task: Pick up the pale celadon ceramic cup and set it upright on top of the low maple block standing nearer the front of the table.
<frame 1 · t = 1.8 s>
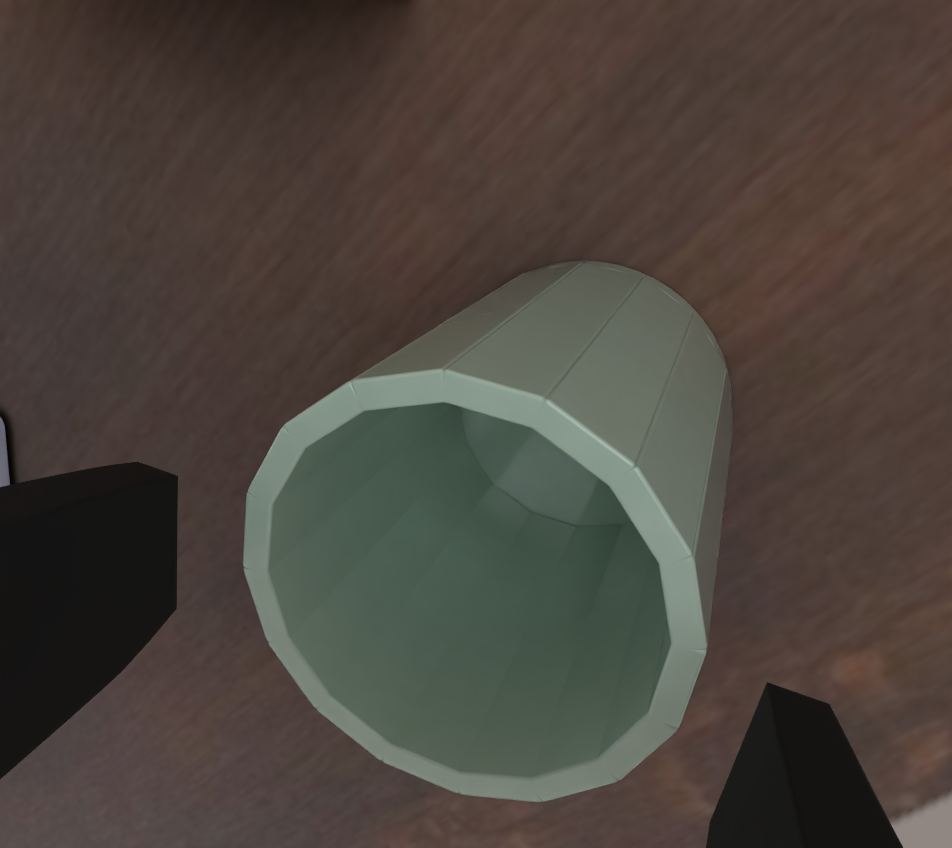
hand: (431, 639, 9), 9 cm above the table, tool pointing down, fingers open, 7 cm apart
cup: (584, 402, 17), on the table
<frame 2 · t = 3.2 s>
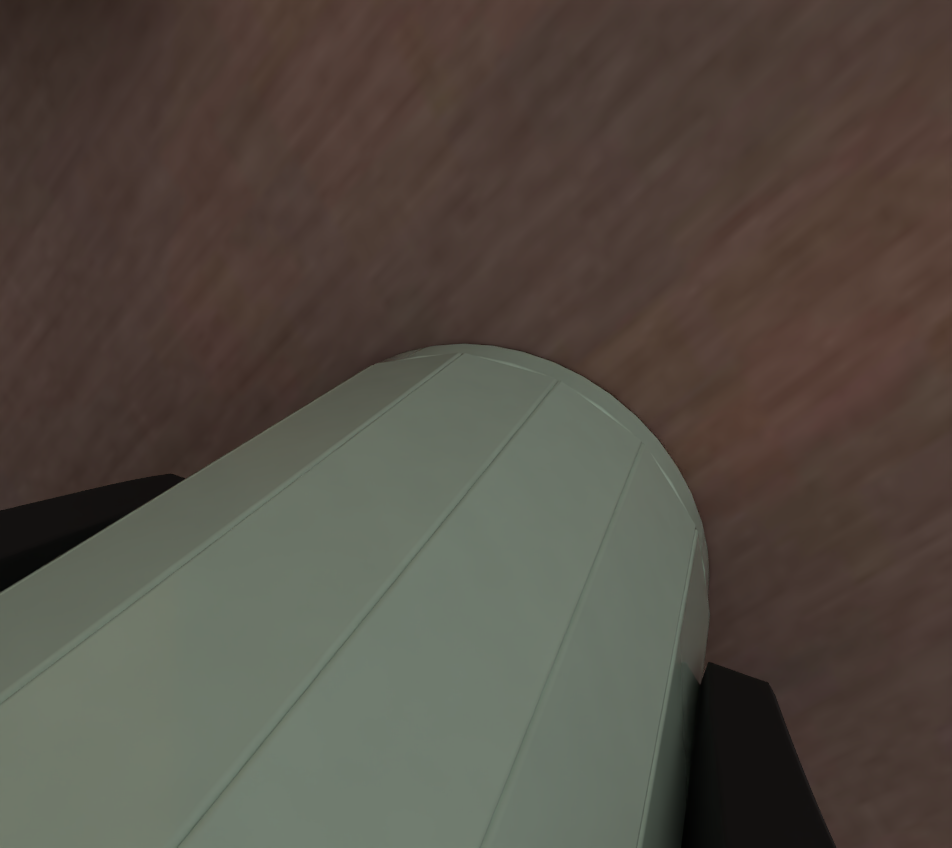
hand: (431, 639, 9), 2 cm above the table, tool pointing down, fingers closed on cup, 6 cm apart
cup: (484, 553, 11), on the table, touching gripper
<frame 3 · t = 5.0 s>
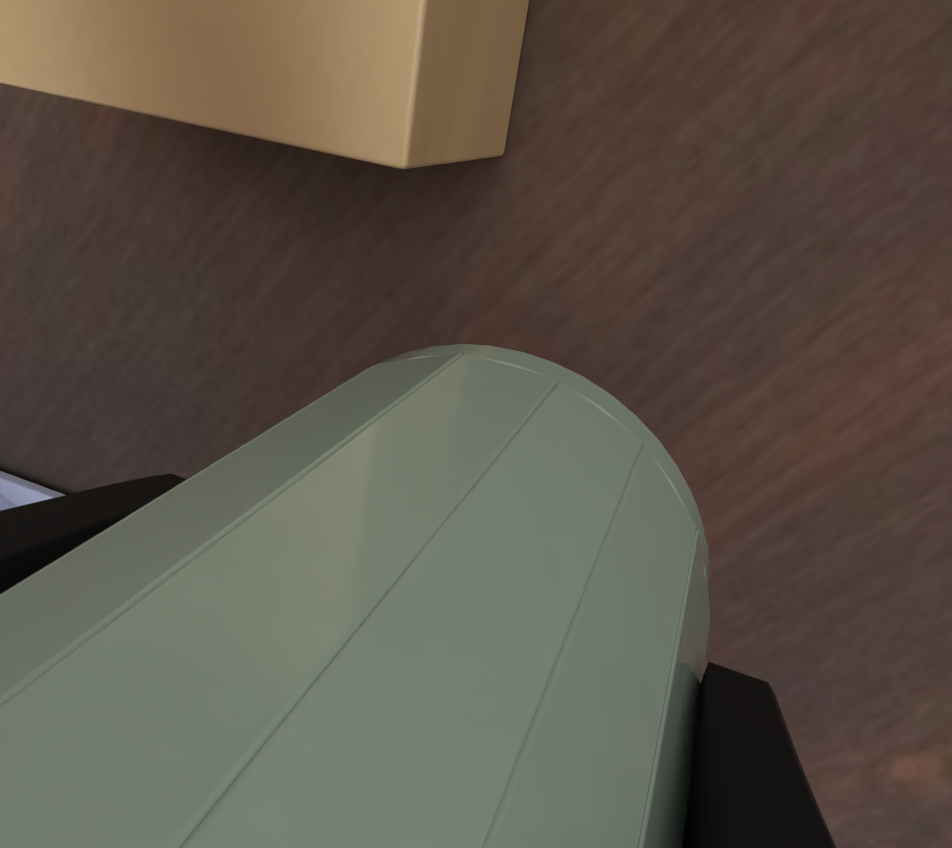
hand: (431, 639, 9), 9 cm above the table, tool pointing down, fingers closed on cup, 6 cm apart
cup: (484, 554, 11), point 7 cm above the table, touching gripper
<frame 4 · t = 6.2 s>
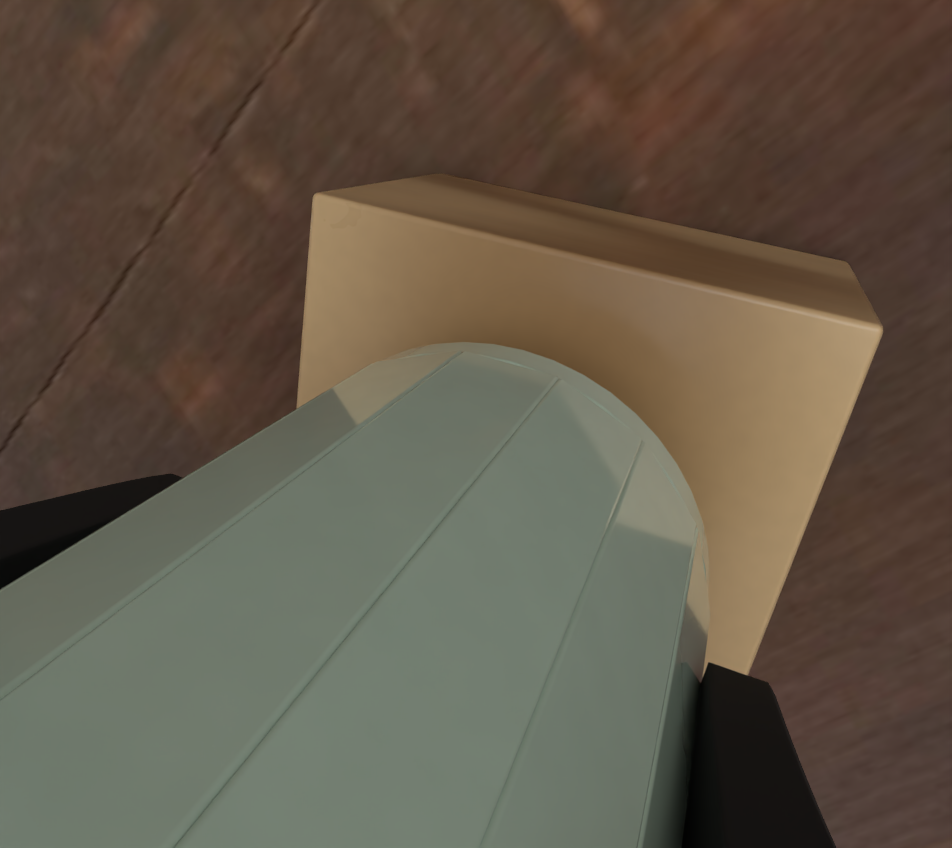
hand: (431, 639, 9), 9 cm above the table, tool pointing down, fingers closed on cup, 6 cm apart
block: (584, 405, 17), on the table
cup: (484, 552, 11), point 6 cm above the table, touching gripper
when the fingers open (7 cm above the table, at t = 7.3 s): cup stays where it is, resting on block.
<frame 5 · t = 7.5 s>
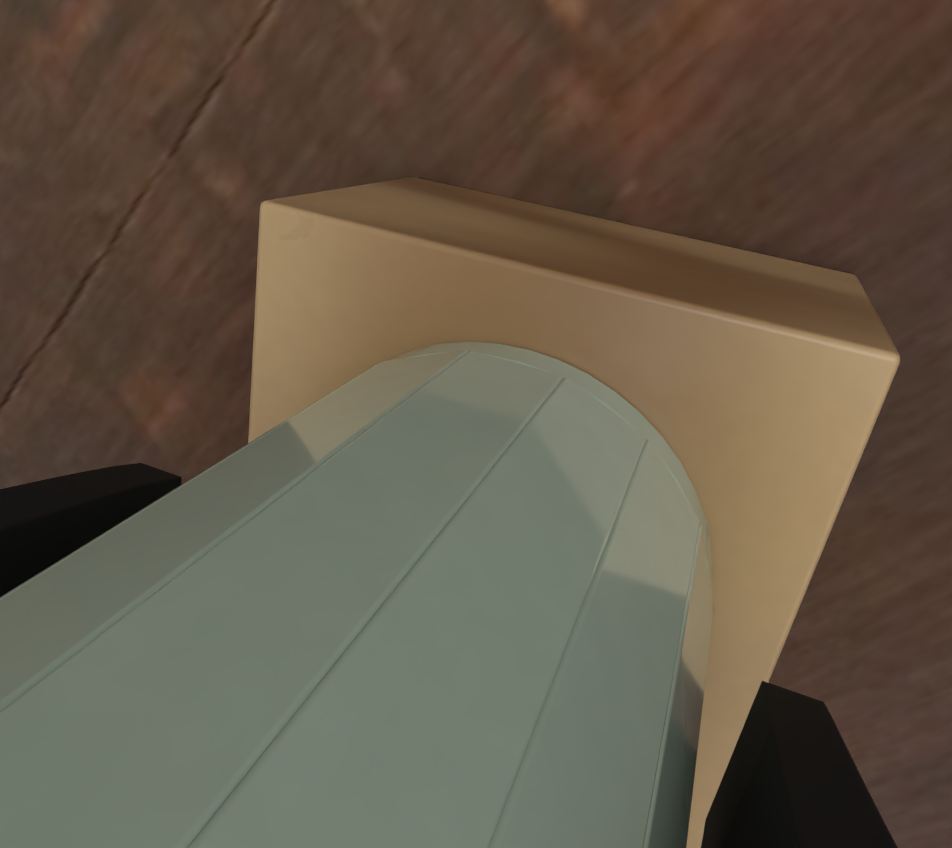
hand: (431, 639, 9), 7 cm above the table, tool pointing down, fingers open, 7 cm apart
block: (570, 426, 15), on the table, touching cup
cup: (489, 549, 11), point 5 cm above the table, touching block
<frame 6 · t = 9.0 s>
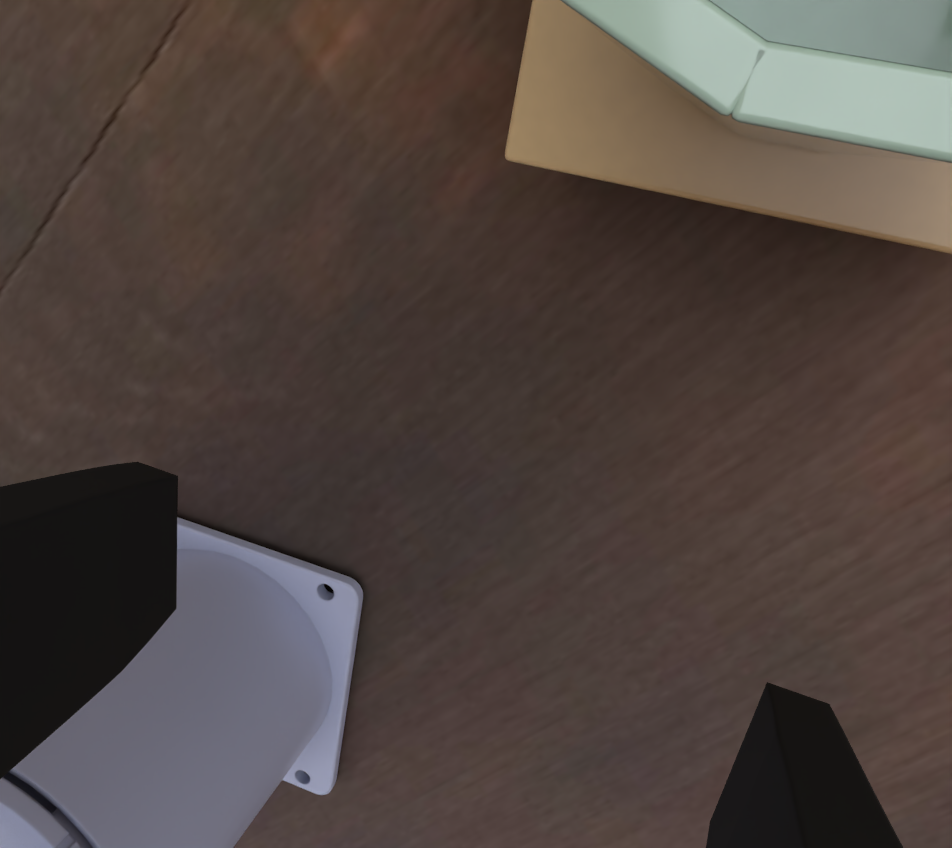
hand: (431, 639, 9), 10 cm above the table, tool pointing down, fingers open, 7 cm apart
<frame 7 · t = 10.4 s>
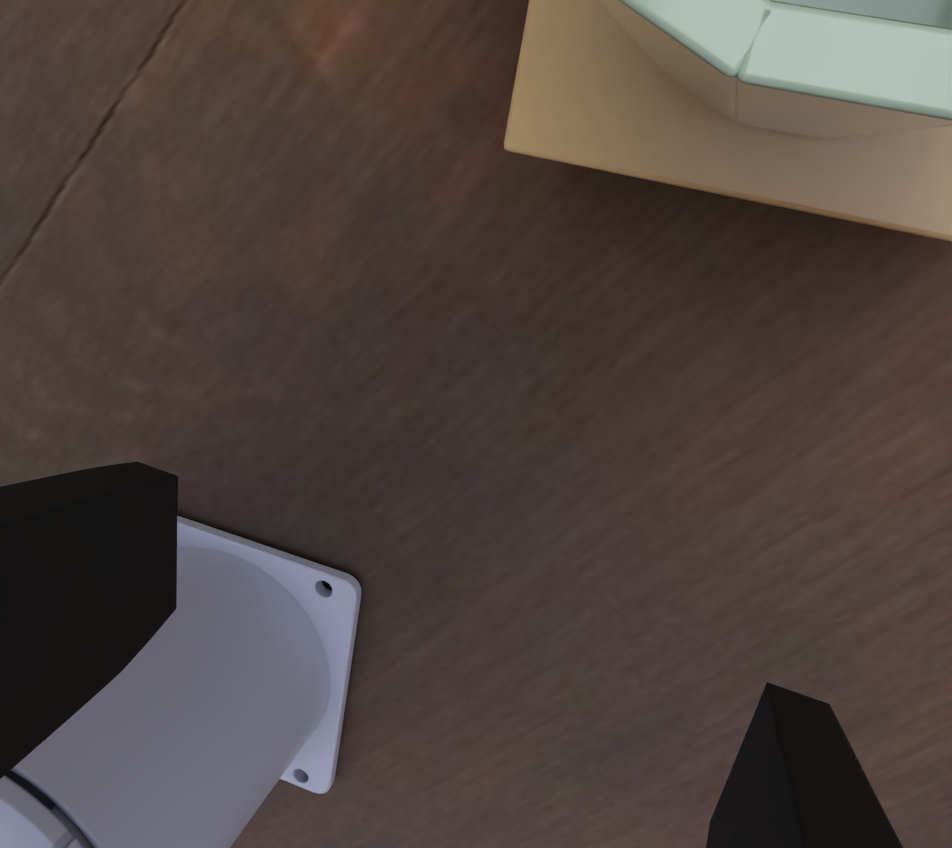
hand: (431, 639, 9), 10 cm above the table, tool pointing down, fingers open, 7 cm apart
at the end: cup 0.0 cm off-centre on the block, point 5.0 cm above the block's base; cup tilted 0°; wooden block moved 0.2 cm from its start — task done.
